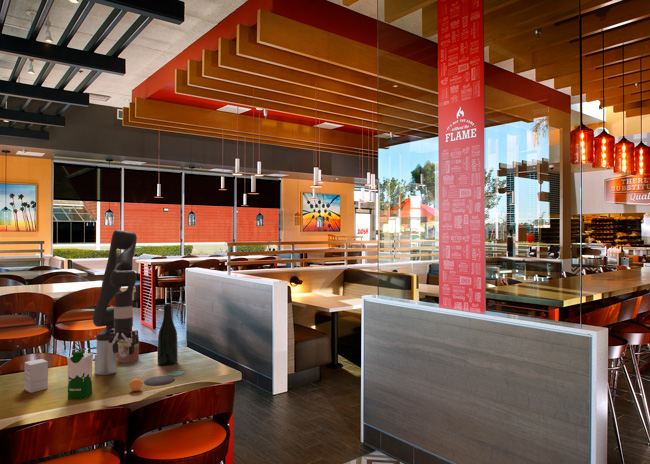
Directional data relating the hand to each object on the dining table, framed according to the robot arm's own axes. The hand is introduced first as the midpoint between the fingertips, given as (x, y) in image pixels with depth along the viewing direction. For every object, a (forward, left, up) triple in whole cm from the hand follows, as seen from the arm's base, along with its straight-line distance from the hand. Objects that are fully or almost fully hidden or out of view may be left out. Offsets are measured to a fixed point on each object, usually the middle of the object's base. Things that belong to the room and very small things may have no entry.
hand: (123, 353), depth 197 cm
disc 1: (+5, +22, -19) cm, 30 cm away
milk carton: (-19, -2, -19) cm, 27 cm away
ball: (+1, +8, -16) cm, 18 cm away
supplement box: (-45, +4, -19) cm, 49 cm away
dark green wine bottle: (-5, +51, -19) cm, 55 cm away
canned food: (-31, +56, -19) cm, 67 cm away
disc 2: (+8, +34, -19) cm, 40 cm away
